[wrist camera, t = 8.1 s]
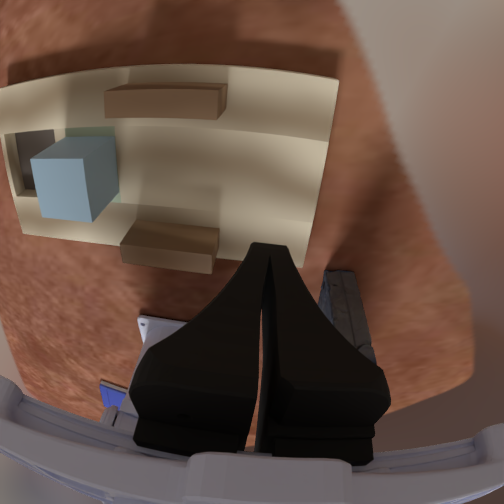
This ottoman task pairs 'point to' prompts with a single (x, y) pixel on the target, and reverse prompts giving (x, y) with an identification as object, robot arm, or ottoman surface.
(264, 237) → the cream flat tray
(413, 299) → the ottoman surface
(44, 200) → the blue block
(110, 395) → the blue book
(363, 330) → the vhs cassette tape
